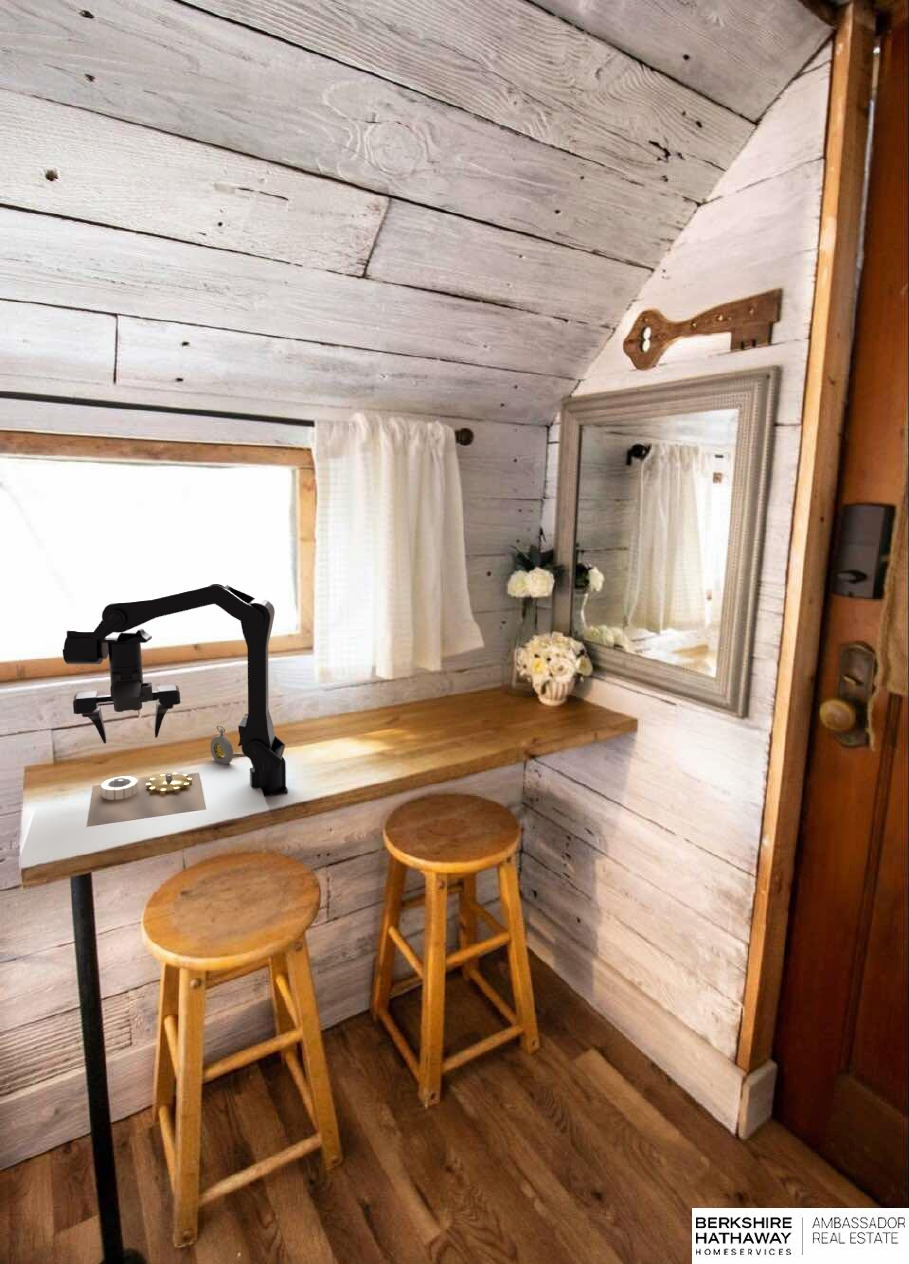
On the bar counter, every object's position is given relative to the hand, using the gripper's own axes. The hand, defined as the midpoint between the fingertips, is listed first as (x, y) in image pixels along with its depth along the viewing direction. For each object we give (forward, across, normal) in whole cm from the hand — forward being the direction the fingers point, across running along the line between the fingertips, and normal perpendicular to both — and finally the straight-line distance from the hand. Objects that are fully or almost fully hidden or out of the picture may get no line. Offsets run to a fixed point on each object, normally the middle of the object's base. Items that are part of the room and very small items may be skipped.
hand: (131, 739), depth 136 cm
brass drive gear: (+10, +6, -3) cm, 12 cm away
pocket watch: (+12, +20, +8) cm, 24 cm away
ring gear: (+10, -2, -3) cm, 10 cm away
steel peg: (+10, -2, -2) cm, 10 cm away
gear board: (+11, +2, -7) cm, 13 cm away
